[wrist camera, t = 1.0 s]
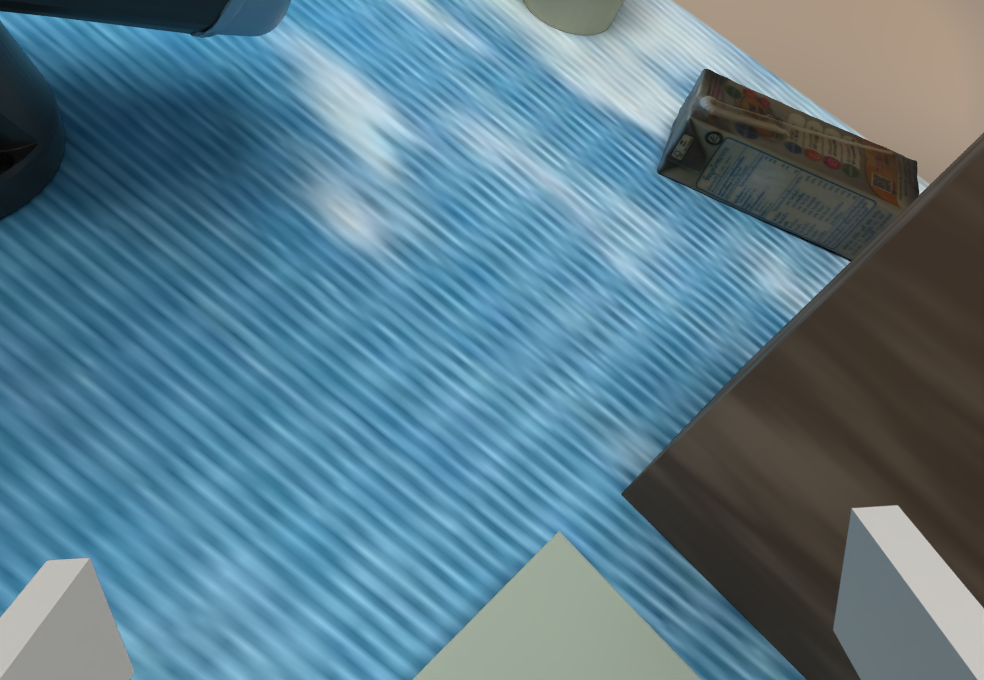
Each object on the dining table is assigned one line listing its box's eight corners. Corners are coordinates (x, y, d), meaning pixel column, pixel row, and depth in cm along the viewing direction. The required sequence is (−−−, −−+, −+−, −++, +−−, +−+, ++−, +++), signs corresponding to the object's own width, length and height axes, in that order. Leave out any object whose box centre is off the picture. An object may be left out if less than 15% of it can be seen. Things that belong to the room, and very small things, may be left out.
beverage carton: (670, 120, 62) (708, 54, 57) (871, 213, 62) (927, 156, 57) (652, 174, 57) (691, 108, 52) (870, 275, 58) (931, 219, 52)
